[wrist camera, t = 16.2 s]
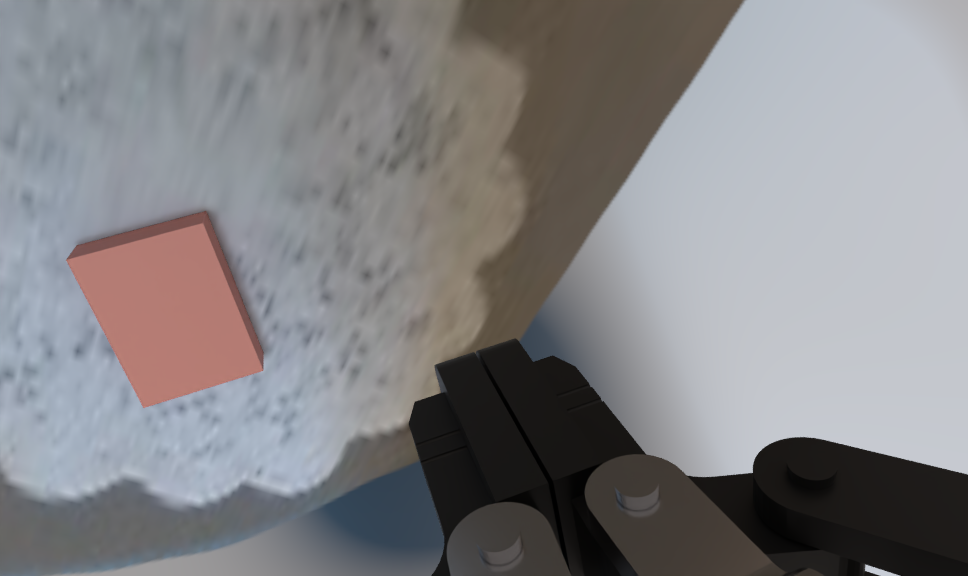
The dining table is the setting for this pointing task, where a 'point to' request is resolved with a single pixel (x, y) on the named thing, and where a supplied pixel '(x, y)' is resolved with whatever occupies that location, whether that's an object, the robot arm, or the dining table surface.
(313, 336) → the dining table surface
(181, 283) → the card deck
